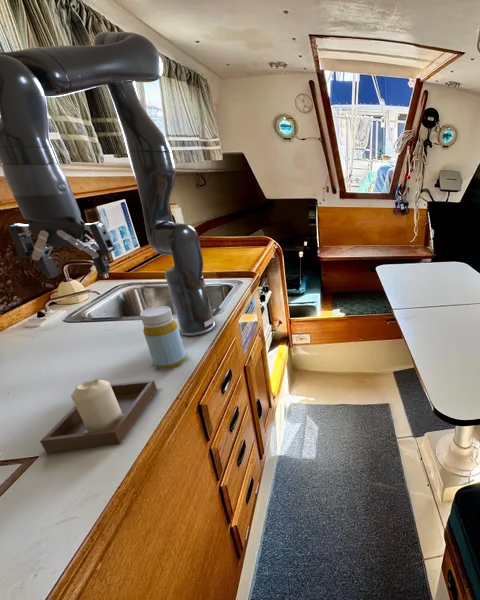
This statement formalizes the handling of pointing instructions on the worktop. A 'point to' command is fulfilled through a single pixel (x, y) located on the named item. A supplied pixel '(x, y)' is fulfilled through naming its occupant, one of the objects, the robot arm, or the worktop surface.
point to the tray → (73, 436)
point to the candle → (97, 405)
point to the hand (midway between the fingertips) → (79, 275)
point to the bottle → (162, 337)
